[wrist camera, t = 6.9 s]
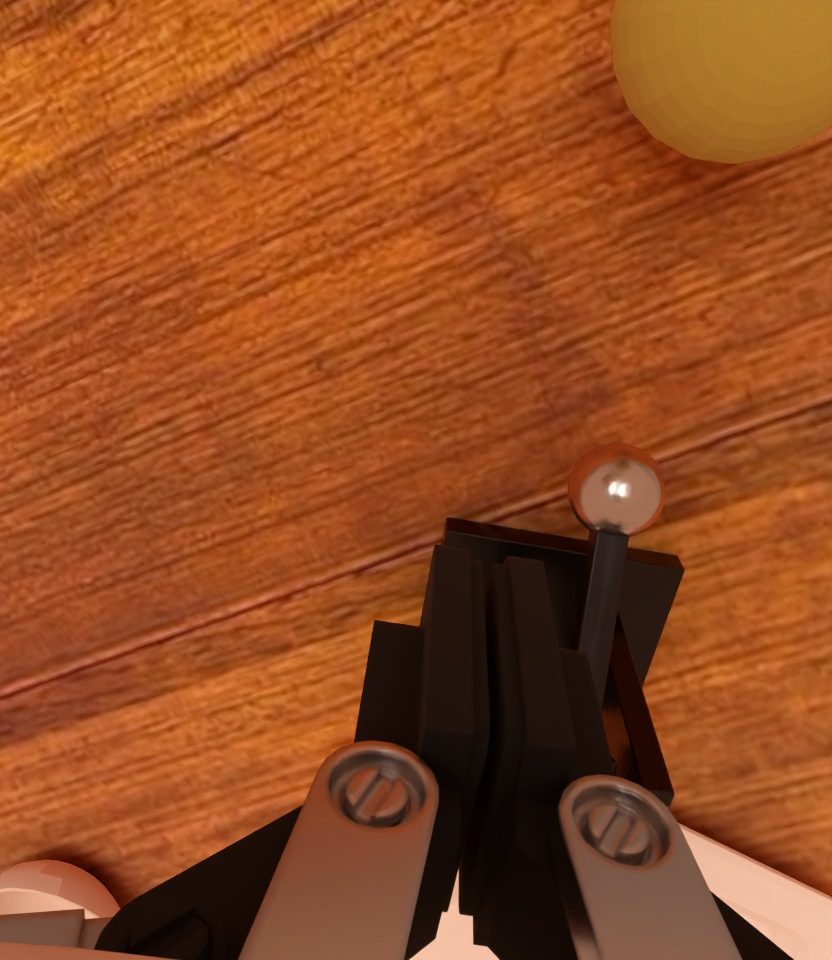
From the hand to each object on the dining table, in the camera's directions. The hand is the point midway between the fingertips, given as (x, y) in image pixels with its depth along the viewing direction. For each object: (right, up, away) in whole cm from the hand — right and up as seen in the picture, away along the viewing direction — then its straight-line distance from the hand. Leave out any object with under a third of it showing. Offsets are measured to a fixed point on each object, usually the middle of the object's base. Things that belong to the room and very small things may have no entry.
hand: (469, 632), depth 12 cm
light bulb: (+8, +17, +13) cm, 23 cm away
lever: (+5, -3, +16) cm, 17 cm away
